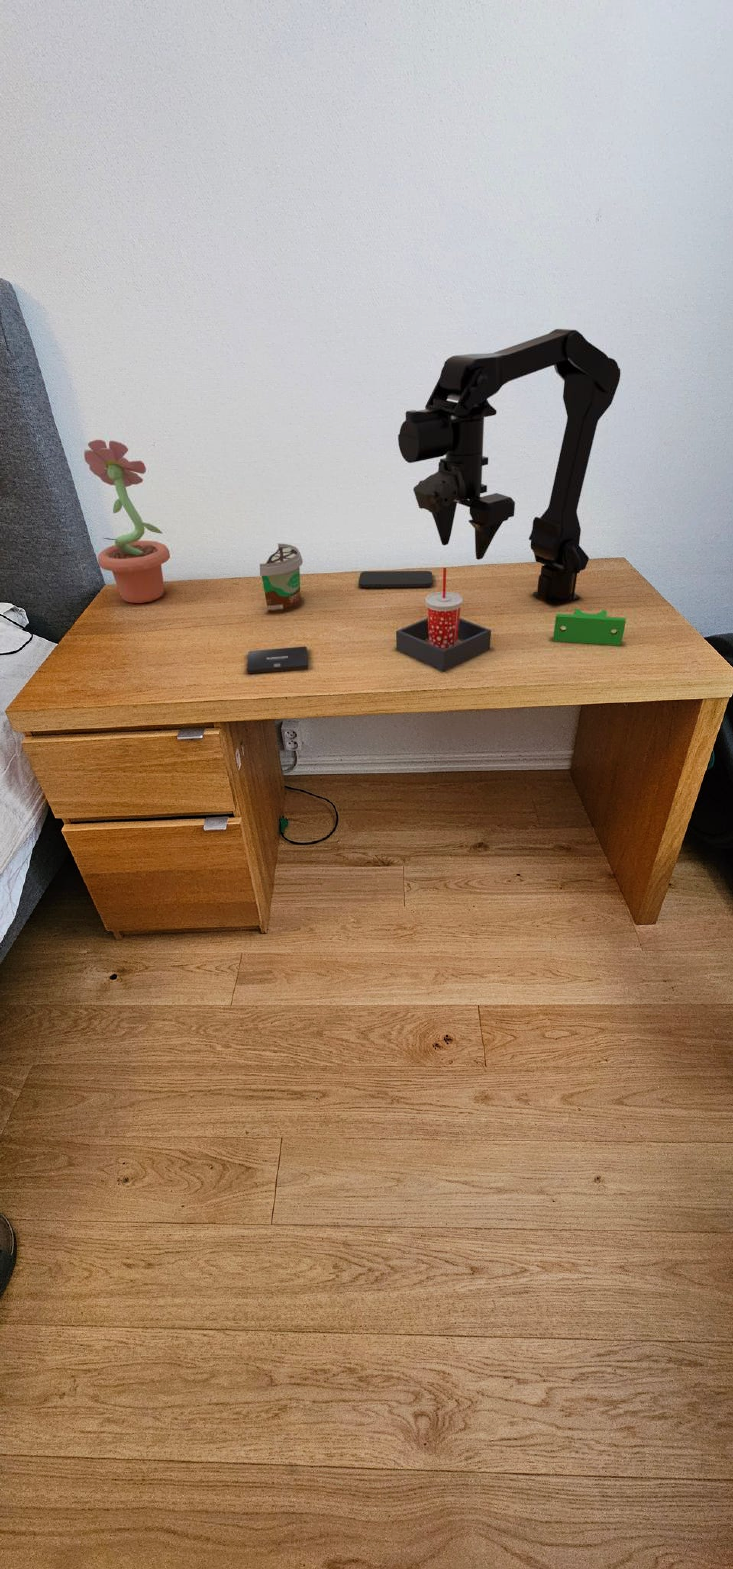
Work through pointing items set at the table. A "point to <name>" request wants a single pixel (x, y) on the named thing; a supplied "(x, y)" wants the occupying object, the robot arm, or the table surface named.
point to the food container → (282, 579)
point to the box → (414, 646)
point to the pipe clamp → (589, 628)
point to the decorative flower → (130, 557)
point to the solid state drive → (277, 659)
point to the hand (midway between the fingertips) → (461, 551)
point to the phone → (395, 579)
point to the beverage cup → (443, 616)
